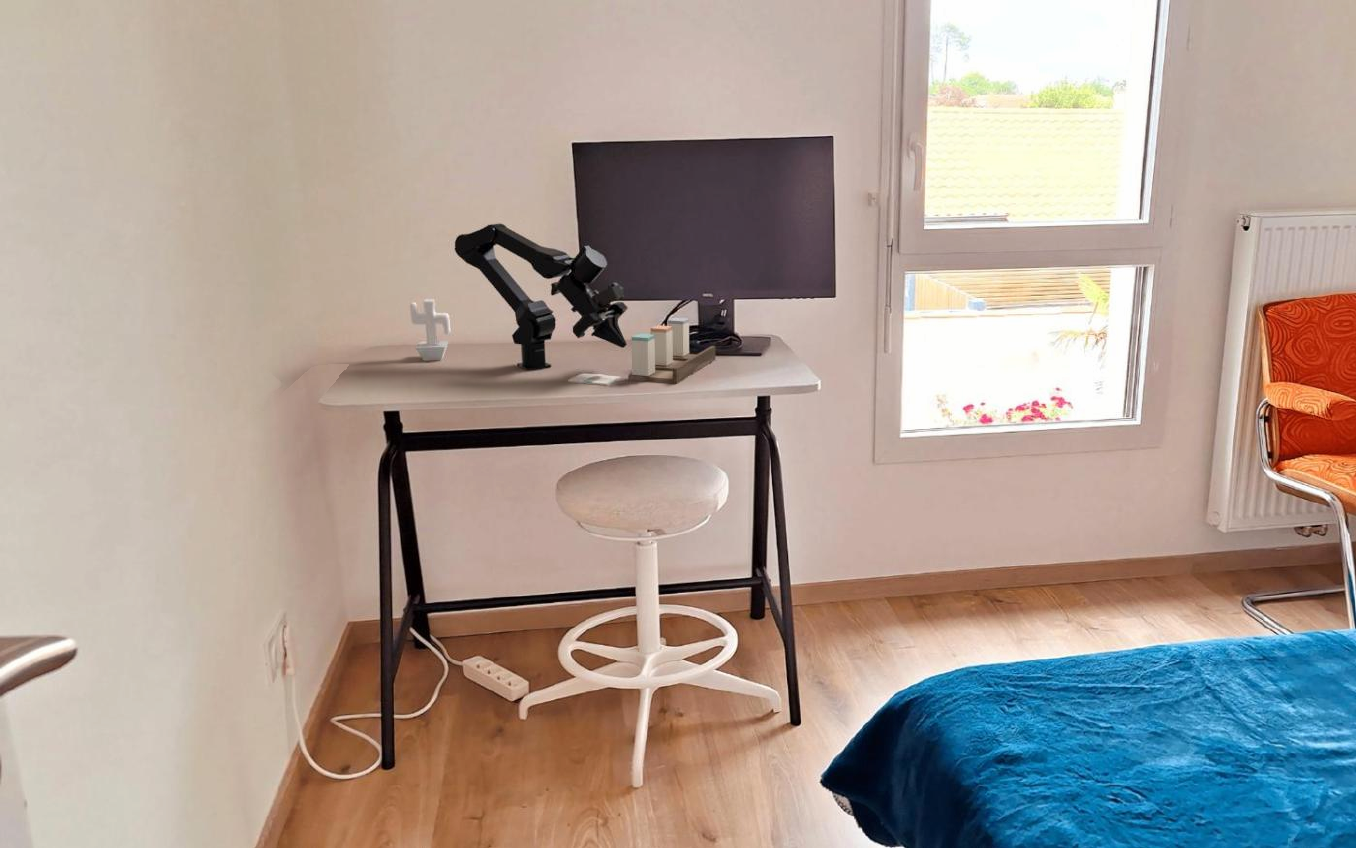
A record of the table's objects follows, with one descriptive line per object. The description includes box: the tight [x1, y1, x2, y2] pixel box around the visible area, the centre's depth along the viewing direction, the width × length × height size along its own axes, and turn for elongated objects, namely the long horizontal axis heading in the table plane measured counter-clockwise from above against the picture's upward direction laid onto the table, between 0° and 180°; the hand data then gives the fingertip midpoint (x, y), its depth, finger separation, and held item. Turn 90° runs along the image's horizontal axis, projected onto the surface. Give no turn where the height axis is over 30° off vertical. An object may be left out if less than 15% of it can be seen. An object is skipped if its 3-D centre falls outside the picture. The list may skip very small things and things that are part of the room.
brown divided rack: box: [627, 345, 716, 385], centre depth 234 cm, size 12×26×4 cm, turn 158°
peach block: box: [650, 324, 673, 366], centre depth 234 cm, size 4×4×9 cm
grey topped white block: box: [667, 317, 690, 356], centre depth 244 cm, size 4×4×9 cm
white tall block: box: [631, 333, 655, 376], centre depth 225 cm, size 4×4×9 cm
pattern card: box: [567, 373, 622, 386], centre depth 225 cm, size 10×7×1 cm
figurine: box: [409, 298, 451, 362], centre depth 246 cm, size 7×9×15 cm
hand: (624, 346), depth 226 cm, fingers closed
